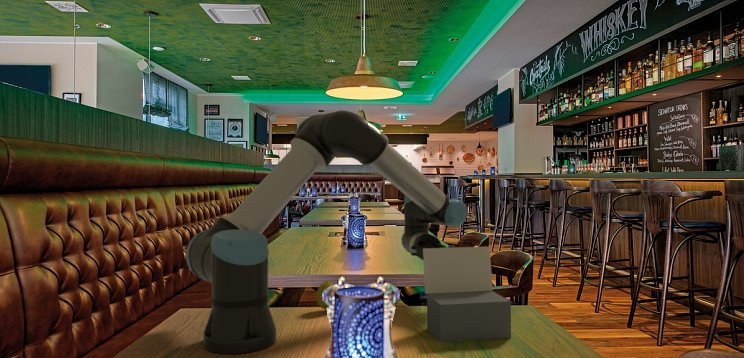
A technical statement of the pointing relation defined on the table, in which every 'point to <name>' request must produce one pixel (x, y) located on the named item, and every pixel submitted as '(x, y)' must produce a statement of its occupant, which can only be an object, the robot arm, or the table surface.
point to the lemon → (319, 293)
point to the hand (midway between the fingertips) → (453, 259)
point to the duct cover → (457, 269)
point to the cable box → (468, 316)
